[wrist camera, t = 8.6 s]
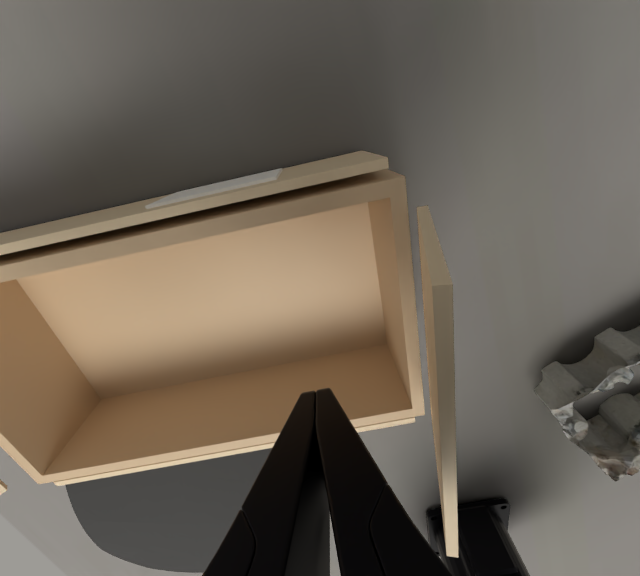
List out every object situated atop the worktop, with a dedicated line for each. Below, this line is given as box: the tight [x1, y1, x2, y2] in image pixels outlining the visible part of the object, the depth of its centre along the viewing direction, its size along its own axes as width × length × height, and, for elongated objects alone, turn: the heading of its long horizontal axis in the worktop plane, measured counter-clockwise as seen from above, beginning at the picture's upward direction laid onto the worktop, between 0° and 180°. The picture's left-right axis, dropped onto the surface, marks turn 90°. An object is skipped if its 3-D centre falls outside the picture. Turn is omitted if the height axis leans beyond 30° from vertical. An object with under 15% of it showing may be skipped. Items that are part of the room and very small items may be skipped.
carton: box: [0, 150, 425, 486], centre depth 14 cm, size 11×18×5 cm, turn 102°
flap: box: [417, 205, 458, 558], centre depth 9 cm, size 8×1×5 cm, turn 12°
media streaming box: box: [66, 448, 272, 572], centre depth 22 cm, size 15×15×3 cm
